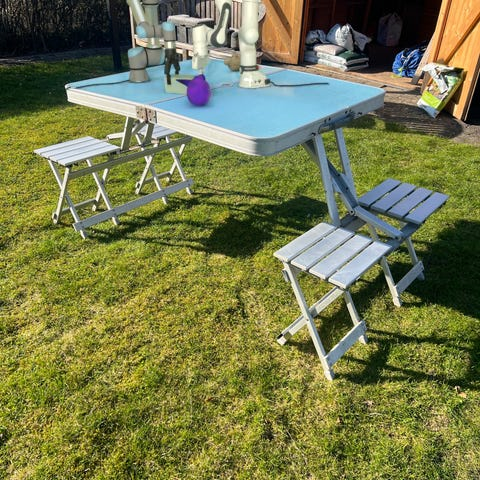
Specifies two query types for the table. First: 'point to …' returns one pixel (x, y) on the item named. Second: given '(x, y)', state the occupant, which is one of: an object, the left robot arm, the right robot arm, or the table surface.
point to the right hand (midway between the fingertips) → (201, 74)
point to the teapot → (233, 62)
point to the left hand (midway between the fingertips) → (173, 82)
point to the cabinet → (177, 84)
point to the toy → (197, 90)
